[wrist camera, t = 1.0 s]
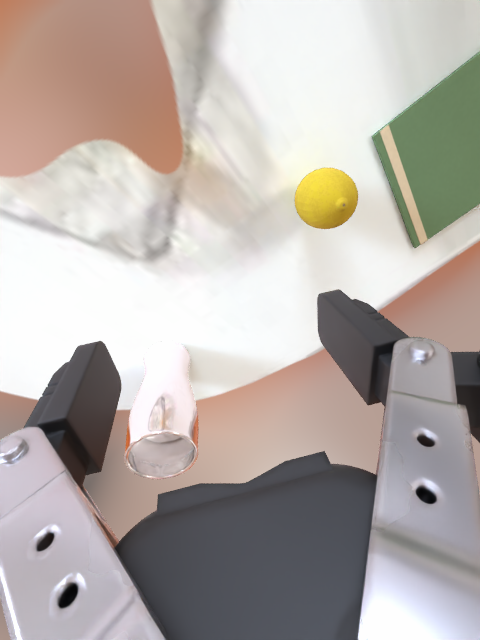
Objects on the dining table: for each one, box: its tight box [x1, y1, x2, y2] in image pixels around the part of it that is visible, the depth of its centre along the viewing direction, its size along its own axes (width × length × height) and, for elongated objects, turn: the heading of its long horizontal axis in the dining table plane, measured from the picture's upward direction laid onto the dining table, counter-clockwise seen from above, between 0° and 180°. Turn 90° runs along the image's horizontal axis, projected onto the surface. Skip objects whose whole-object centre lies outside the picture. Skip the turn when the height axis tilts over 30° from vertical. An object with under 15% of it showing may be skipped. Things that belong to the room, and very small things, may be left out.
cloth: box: [372, 52, 480, 248], centre depth 33 cm, size 15×20×1 cm
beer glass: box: [124, 341, 198, 479], centre depth 34 cm, size 7×7×15 cm
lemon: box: [295, 168, 358, 229], centre depth 29 cm, size 6×6×8 cm
